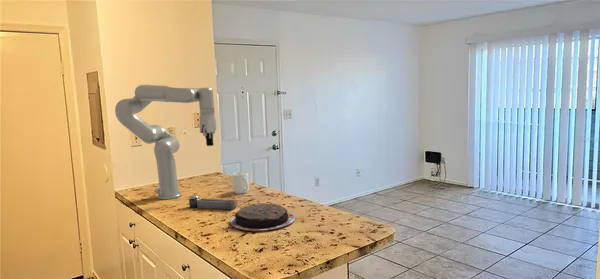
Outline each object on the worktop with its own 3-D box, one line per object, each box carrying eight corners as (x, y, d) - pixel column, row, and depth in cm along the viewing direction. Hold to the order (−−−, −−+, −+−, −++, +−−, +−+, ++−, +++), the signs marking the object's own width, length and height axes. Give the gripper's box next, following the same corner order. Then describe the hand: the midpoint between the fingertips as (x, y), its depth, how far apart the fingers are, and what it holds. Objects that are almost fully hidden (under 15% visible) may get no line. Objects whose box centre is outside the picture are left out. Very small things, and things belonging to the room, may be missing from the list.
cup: (245, 188, 230) (243, 171, 228) (254, 193, 220) (253, 174, 218) (231, 191, 225) (230, 173, 224) (240, 195, 215) (239, 177, 214)
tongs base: (186, 208, 198) (186, 200, 197) (193, 204, 203) (192, 197, 203) (231, 210, 191) (231, 202, 190) (237, 206, 196) (236, 198, 195)
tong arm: (188, 206, 199) (188, 197, 198) (194, 203, 204) (194, 194, 203) (232, 209, 191) (231, 199, 190) (237, 206, 196) (236, 196, 195)
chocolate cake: (307, 215, 179) (306, 201, 178) (271, 237, 155) (270, 221, 154) (256, 208, 193) (255, 195, 192) (216, 227, 170) (215, 212, 169)
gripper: (208, 110, 222) (210, 143, 225) (193, 112, 208) (196, 147, 211) (220, 109, 220) (223, 143, 222) (206, 112, 206) (209, 147, 208)
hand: (210, 145), depth 216 cm, fingers closed
